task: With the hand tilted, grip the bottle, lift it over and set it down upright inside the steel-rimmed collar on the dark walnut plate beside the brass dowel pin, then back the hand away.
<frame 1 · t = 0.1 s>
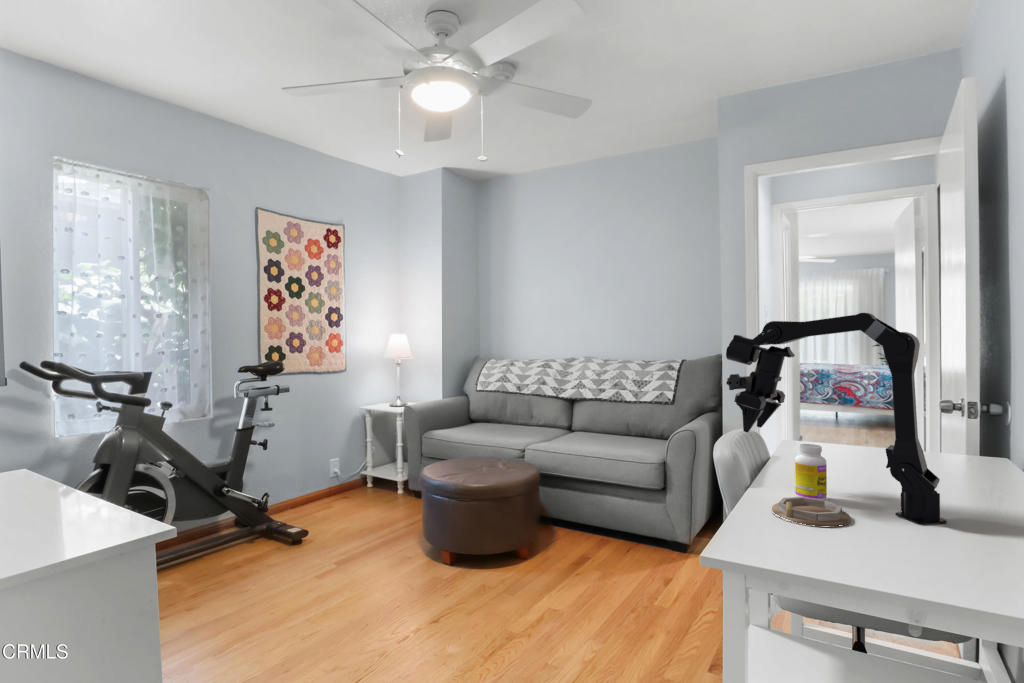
hand: (752, 429, 140), 15 cm above the table, tool pointing down, fingers open, 9 cm apart
supplement bottle: (810, 500, 132), on the table
collar plate: (809, 515, 120), on the table
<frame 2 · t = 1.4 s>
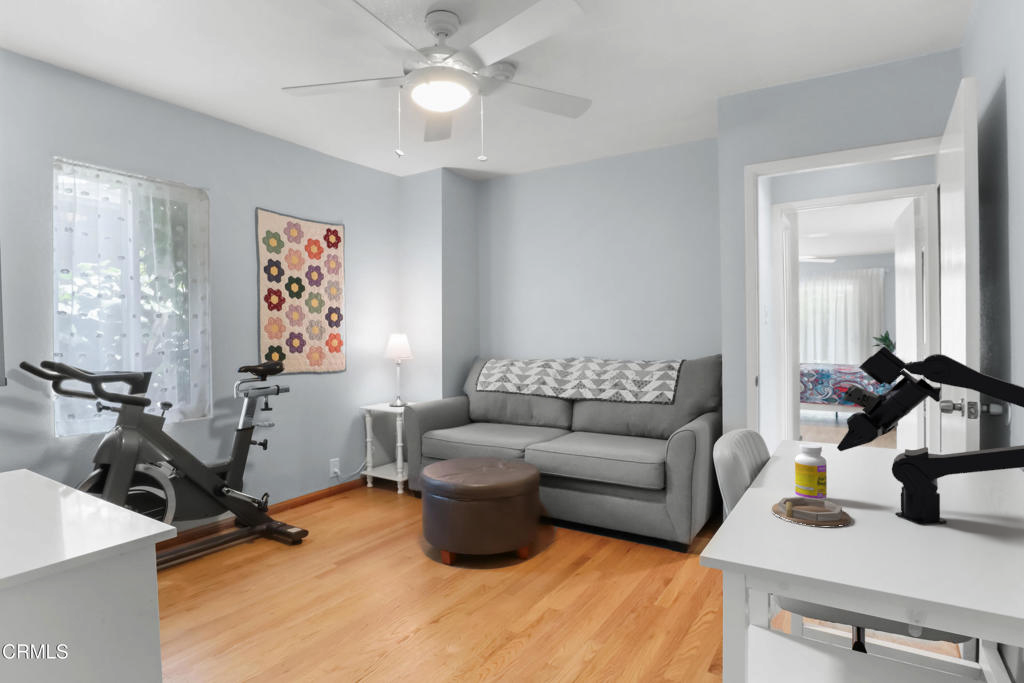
hand: (845, 446, 127), 14 cm above the table, tool tilted 45°, fingers open, 9 cm apart
nothing on the table moved.
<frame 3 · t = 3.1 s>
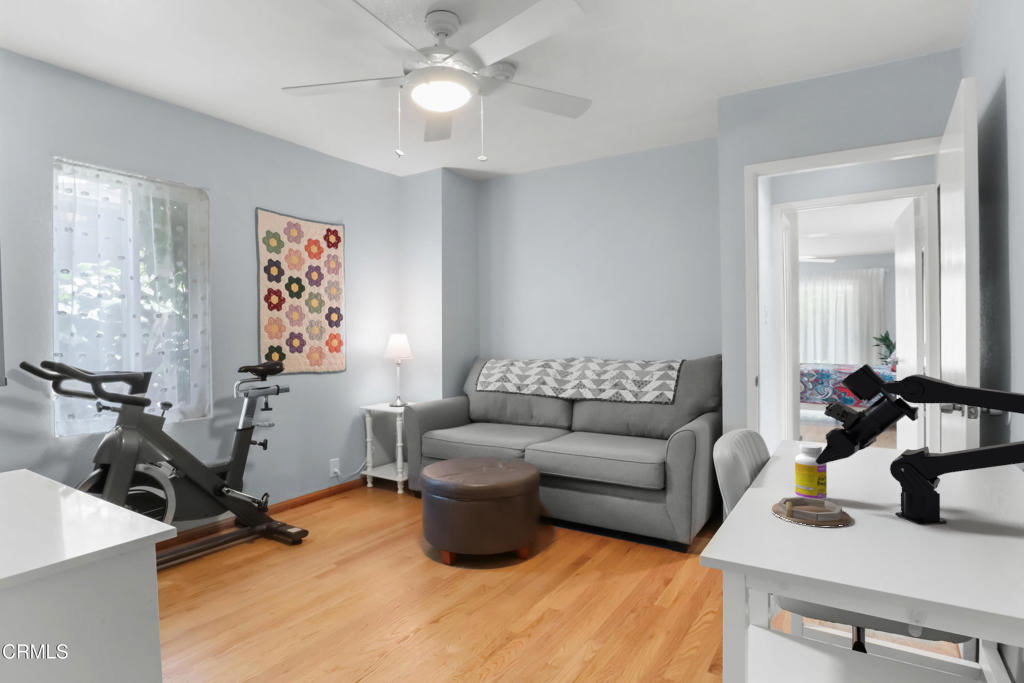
hand: (823, 459, 130), 10 cm above the table, tool tilted 45°, fingers open, 9 cm apart
nothing on the table moved.
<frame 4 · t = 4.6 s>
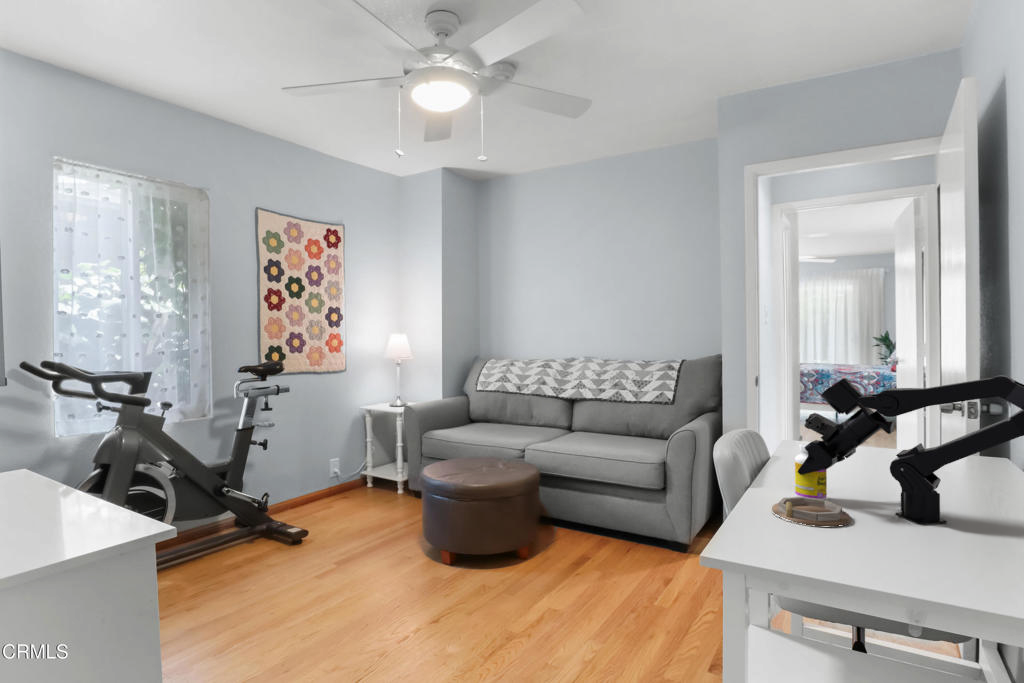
hand: (804, 470, 133), 7 cm above the table, tool tilted 45°, fingers closed on supplement bottle, 7 cm apart
supplement bottle: (810, 499, 132), on the table, touching gripper
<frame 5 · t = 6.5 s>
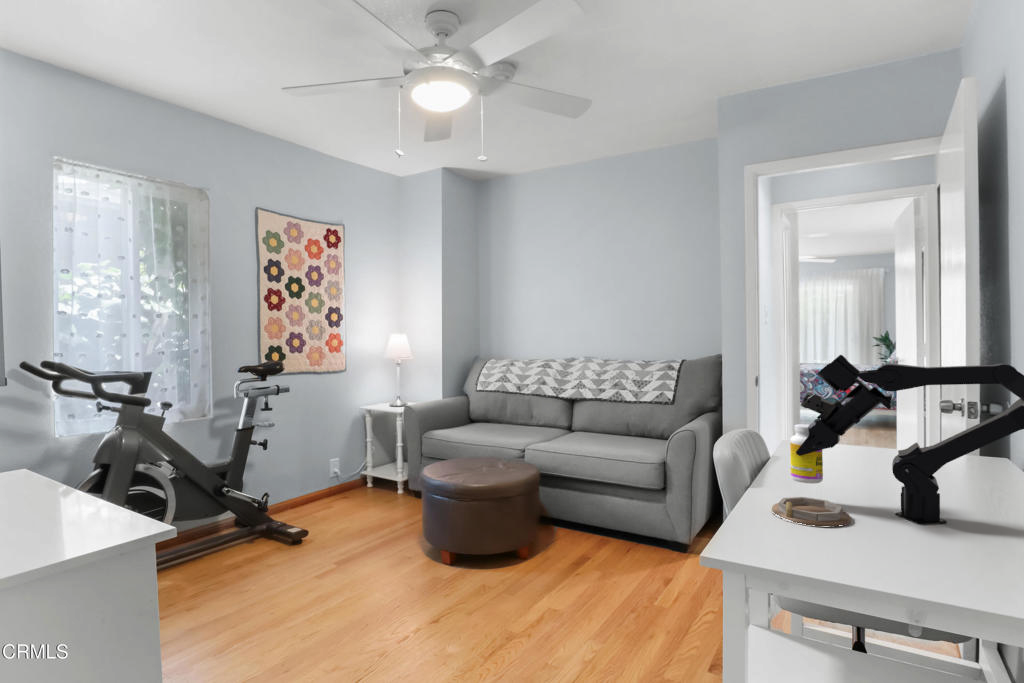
hand: (799, 451, 130), 12 cm above the table, tool tilted 45°, fingers closed on supplement bottle, 7 cm apart
supplement bottle: (806, 481, 129), point 5 cm above the table, touching gripper
when the fingers open (8 cm above the table, at t = 8.4 s): supplement bottle stays where it is, resting on collar plate.
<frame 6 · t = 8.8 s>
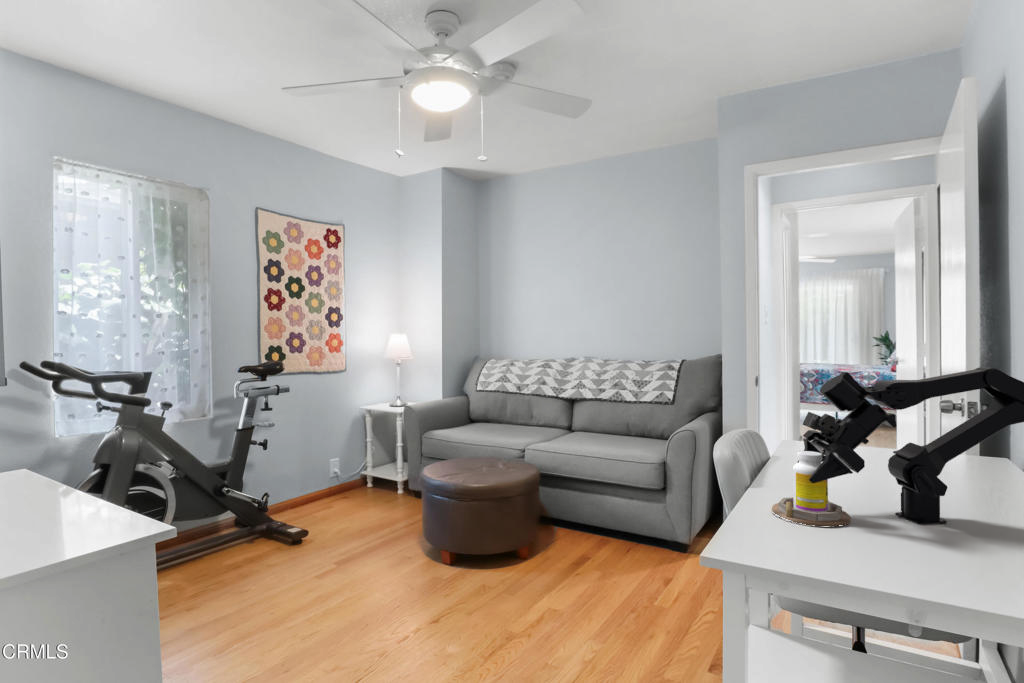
hand: (802, 476, 120), 9 cm above the table, tool tilted 45°, fingers open, 9 cm apart
supplement bottle: (810, 512, 120), point 1 cm above the table, touching collar plate
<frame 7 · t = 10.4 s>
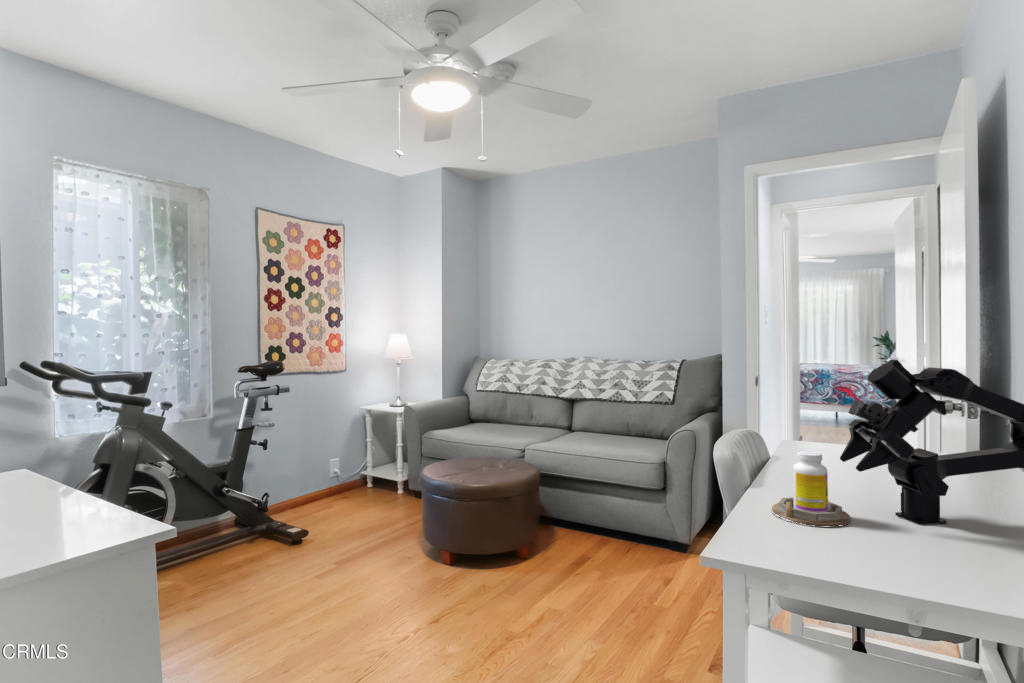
hand: (849, 464, 119), 11 cm above the table, tool tilted 45°, fingers open, 9 cm apart
nothing on the table moved.
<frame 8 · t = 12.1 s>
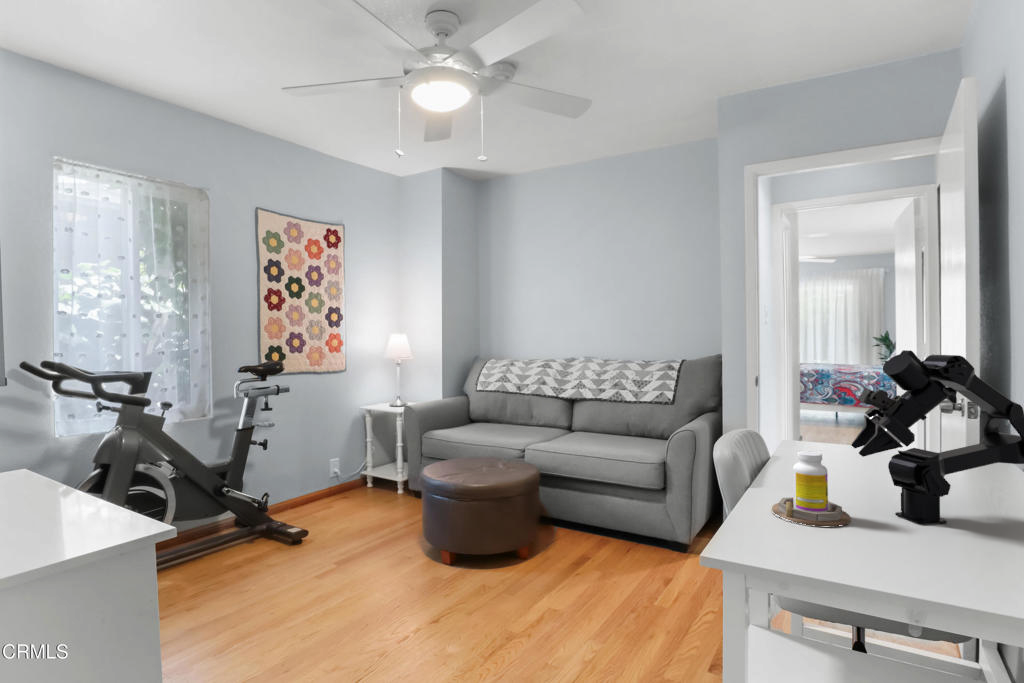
hand: (856, 450, 122), 14 cm above the table, tool tilted 45°, fingers open, 9 cm apart
nothing on the table moved.
at the end: supplement bottle 0.1 cm from the collar plate (horizontally); supplement bottle tilted 0°; the gripper is holding nothing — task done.
